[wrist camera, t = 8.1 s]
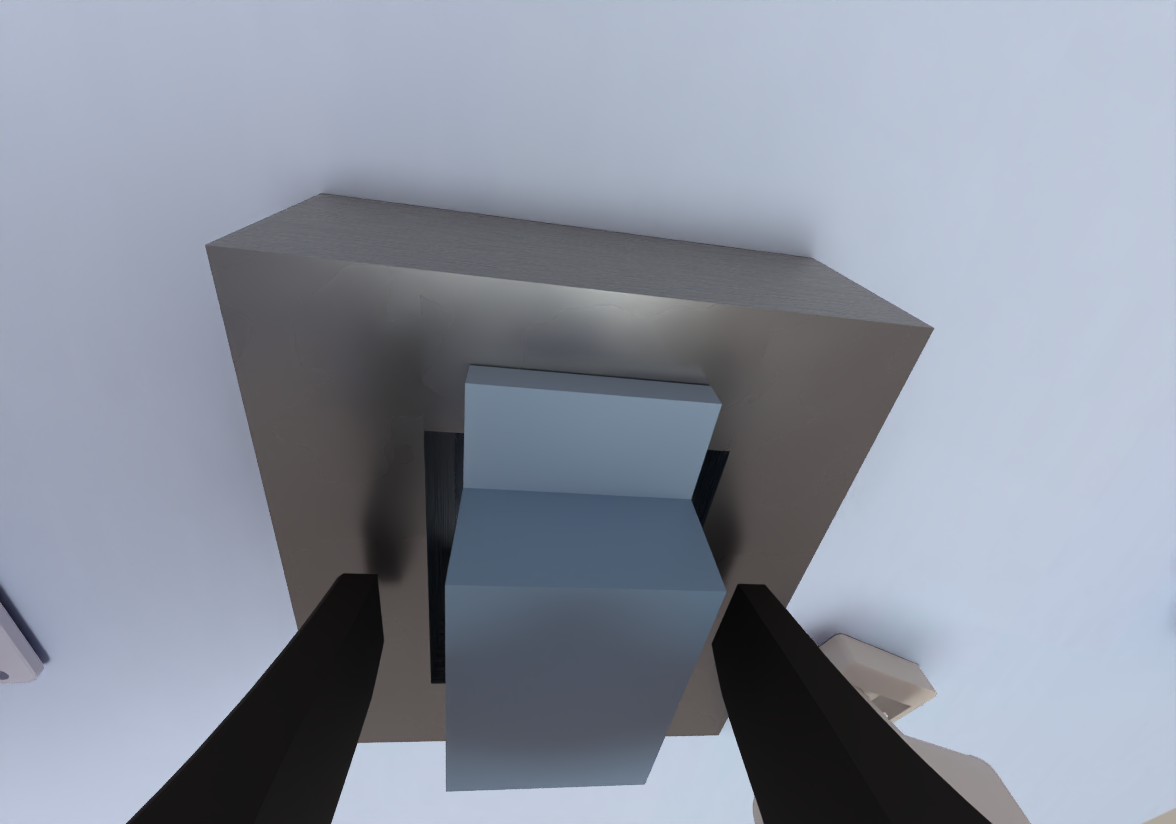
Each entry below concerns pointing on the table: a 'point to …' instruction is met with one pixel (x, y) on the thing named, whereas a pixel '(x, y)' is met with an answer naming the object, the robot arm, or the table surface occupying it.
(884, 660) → the security camera
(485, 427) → the block
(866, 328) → the frame
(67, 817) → the table surface
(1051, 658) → the table surface
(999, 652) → the table surface
